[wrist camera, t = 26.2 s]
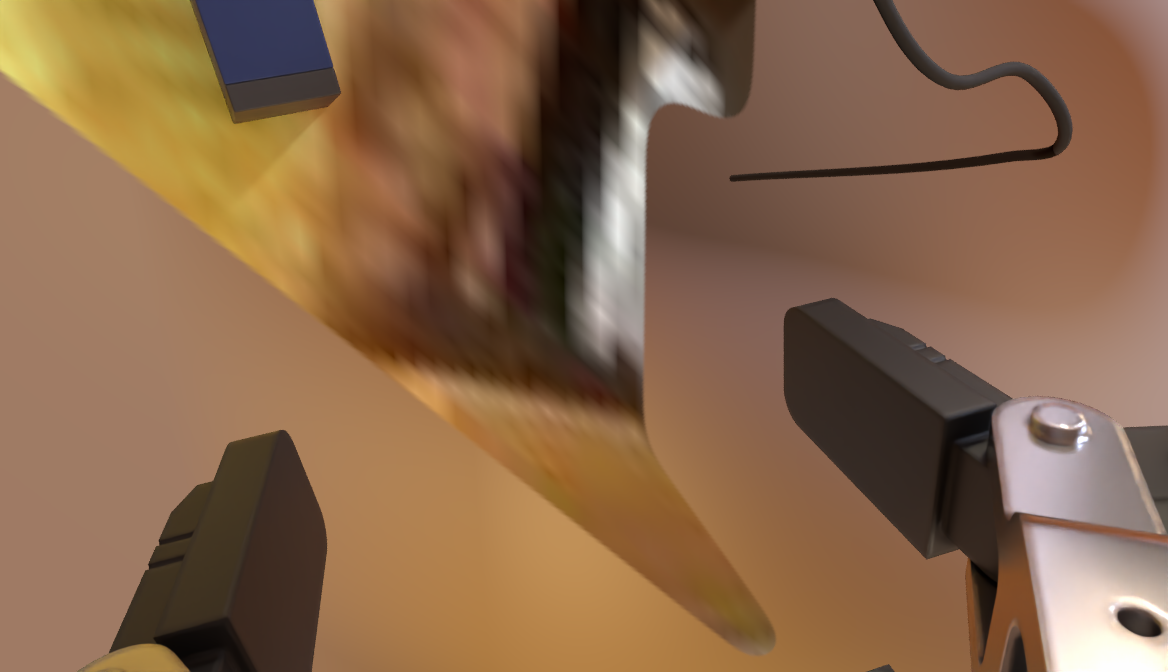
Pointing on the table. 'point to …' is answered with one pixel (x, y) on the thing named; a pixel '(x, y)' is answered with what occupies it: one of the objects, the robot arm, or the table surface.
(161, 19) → the table surface
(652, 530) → the table surface
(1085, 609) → the robot arm
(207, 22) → the dark piece
